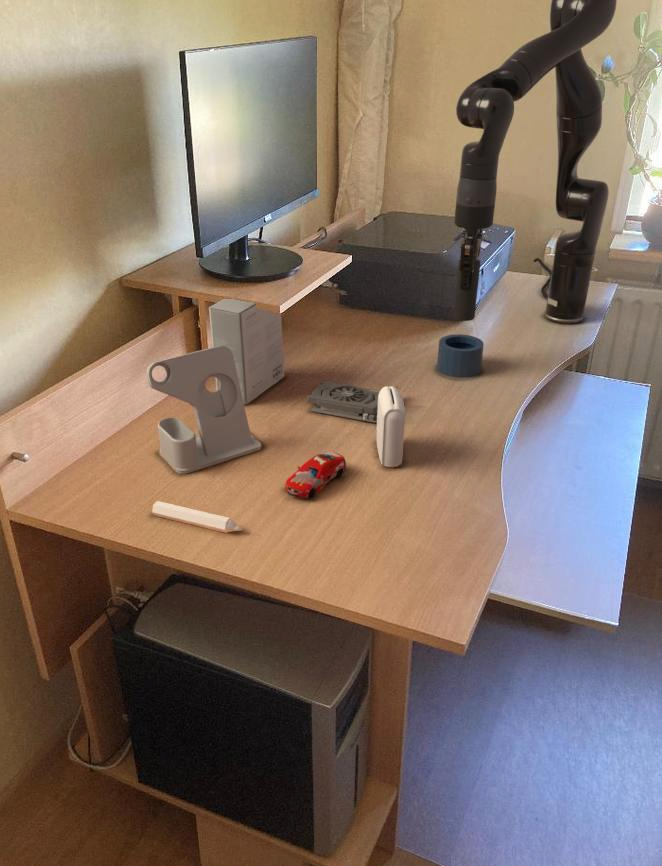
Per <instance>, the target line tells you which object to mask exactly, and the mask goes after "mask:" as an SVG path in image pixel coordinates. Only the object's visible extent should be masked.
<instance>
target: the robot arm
mask: <svg viewBox="0 0 662 866" xmlns="http://www.w3.org/2000/svg"><path fill="white" fill-rule="evenodd" d="M616 9H617V0H551V3H550V10H549V27H550V28H549V29H550V31H549V32H547V33H545V34H543V35H540V36H537V37H536V38H533V39H532V40H530V41H528V42H526V43H525V44H523V45H522V46H520V47H519V48H518V49H517V50H516V51H514V52H513V53H512V54H511V55H509V57H508V58H507V59H505V61H504V62H503V63H502V64H501V65H500V66H499V67H497V68H496V69H494V70H492V71H490V72H488V73H486V74H485V75H483V76H481V77H479V78H477V79H476V80H475V81H473V82H471V83H470V84H468V85H467V87H466V88H465V89H464V90H463V91H462V92H461V94H460V95H459V97H458V100H457V102H456V107H455V114H456V115H455V116H456V118H457V120H458V122H459V123H460V124H461V125H462V126H464V127H467V128H472V129H478V130H479V129H480V130H482V131H483V132H482V134H481V137H480V139H479V140H477V141H471V142H468V143H466V144H465V145H464V146H463V148H462V151H461V156H460V157H461V158H460V159H461V160H460V167H459V168H460V169H459V179H458V183H457V188H456V198H455V199H456V200H455V210H454V222H453V223H454V225H455V226H456V227H458V228H460V229H461V228H463V229H464V230H465V232H462V235H461V237H460V254H459V260H460V259H461V260H460V268H459V269H460V271H461V272H462V273H461V283H460V289H461V290H468V291H469V290H470V289H471V286H472V276H473V271H474V263H475V261H476V260H477V259H478V260H479V257H480V254H481V250H482V243H483V238H484V233H483V230H484V229H488V228H491V227H492V225H493V224H494V215H495V208H496V207H495V206H496V199H497V188H498V187H497V185H498V182H497V180H498V179H497V178H498V170H499V169H498V168H499V160H500V155H501V151H502V148H503V145H504V142H505V140H506V137H507V134H508V131H509V129H510V126H511V123H512V120H513V117H514V113H515V102H518V101H519V100H521V99H523V98H524V97H525V96H526V95H527V94H528V93H529V92H530V91H531V90H532V89H533V88H534V87H535V86H536V85H537V84H538V83H539V82H540V81H541V80H542V79H544V77H546V75H547V74H548V73H550V72H551V71H552V70H553V69H554V68H555V70H554V71H555V72H554V73H555V91H556V92H555V94H556V99H555V100H556V102H555V103H556V105H555V107H556V109H555V111H556V113H555V114H556V115H555V116H556V135H557V137H556V138H557V172H556V186H555V210H556V214H557V215H558V217H559V218H562V219H565V220H570V221H575V222H576V221H577V222H582V225H581V228H580V229H578V230H576V231H570V232H566V233H563V234H560V235H559V236H558V237H557V239H556V244H555V251H554V257H553V263H552V269H550V268H549V267H548V266H546V264H544V262H543V261H542V260H541V258H539V257H535V258H534V260H533V262H534V263H537V262H538V263H539V264H540V266H541V267H542V268H543V269H544V270H545V271H547V273H548V274H549V278H548V279H547V280H546V281H545V284H544V285H542V287H541V290H540V292H541V294H542V296H543V297H544V298H545V300H546V306H545V310H544V315H543V316H544V318H545V319H546V320H548V321H550V322H553V323H557V324H563V325H564V324H565V325H566V324H567V325H569V324H571V325H572V324H578V323H581V322H582V321H583V320H584V316H585V314H584V313H585V308H586V305H587V304H586V303H587V298H588V293H589V287H590V282H591V277H592V272H593V266H594V262H595V257H596V256H595V255H596V251H597V246H598V245H597V244H598V242H599V239H600V235H601V230H602V225H603V221H604V217H605V213H606V209H607V206H608V200H609V195H610V194H609V193H610V192H609V191H610V190H609V186H608V184H607V183H606V182H605V181H602V180H595V179H588V178H580V177H579V176H578V166H579V163H580V161H581V159H582V158H583V156H584V154H585V153H586V151H587V150H588V148H589V147H590V146H591V145H592V143H593V142H594V141H595V139H596V138H597V136H598V134H599V133H600V130H601V127H602V124H603V123H602V122H603V94H602V90H601V88H600V85H599V83H598V80H597V79H596V77H595V75H594V74H593V72H592V70H591V69H590V66H589V65H588V63H587V61H586V58H585V57H584V54H583V50H582V48H584V47H585V46H587V45H589V44H590V43H592V42H593V41H595V40H596V39H597V38H599V37H600V36H601V35H602V34H603V33H605V31H606V30H607V29H608V28H609V26H610V24H611V23H612V21H613V19H614V17H615V13H616ZM465 262H470V266H466V265H464V264H465ZM548 285H549V287H548ZM547 287H548V294H547V293H546V291H545V289H546V288H547Z"/></svg>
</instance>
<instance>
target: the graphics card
mask: <svg viewBox="0 0 662 866" xmlns="http://www.w3.org/2000/svg"><path fill="white" fill-rule="evenodd" d="M394 387H395V388H397V389H398V390H399V387H398V385H395V386H394ZM380 391H381V390H378V389H374V388H373V389H372V388H366V387H360V386H355V385H348V384H341V383H335V382H331V381H326V380H325V381H324V380H323V381H320V385H319V386H317V387H316V388H314V389H313V390H312V391H311V394H307V395H306V401H307V403H310V404H314V406H313V407H311V409H310V412H315V413H320V414H324V415H330V416H336V417H342V418H348V419H353V420H358V421H364V422H368V423H374V424H377V410H378V395H379V392H380Z"/></svg>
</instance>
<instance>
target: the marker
mask: <svg viewBox="0 0 662 866" xmlns="http://www.w3.org/2000/svg"><path fill="white" fill-rule="evenodd" d="M151 513H152V514H153V515H154V516H155V517H159V518H162V519H167V520H171V521H176V522H180V523H185V524H187V525H192V526H196V527H200V528H204V529H208V530H212V531H215V532H216V531H217V532H221V533H225V534H228V533H230V532H239V531H244V528H242V527H241V526H238V525H237V523H236V522H234V521H233V520H232V518H230V517H227V516H223V515H219V514H215V513H211V512H206V511H203V510H198V509H193V508H189V507H185V506H181V505H177V504H172V503H168V502H165V501H159V500H156V501H155V502H154V504H153V506H152V510H151Z"/></svg>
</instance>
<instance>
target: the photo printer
mask: <svg viewBox="0 0 662 866" xmlns="http://www.w3.org/2000/svg"><path fill="white" fill-rule="evenodd" d="M395 387H396V386H393V385H389V386H388V385H385V386H383V387H381V389H380V390H379V391H380V392H379V395H378V410H377V423H376V436H375V437H376V439H375V440H376V448H377V449H376V450H377V453H378V458H379V462H380V464H381V465H382V466H384V467H386V468H397V467H399V466H401V465H402V463H403V458H404V457H403V455H404V437H405V421H406V408H405V402H404V398H403V395H402V394H401V392H400V390H399V388H398V389H397V388H395Z"/></svg>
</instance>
